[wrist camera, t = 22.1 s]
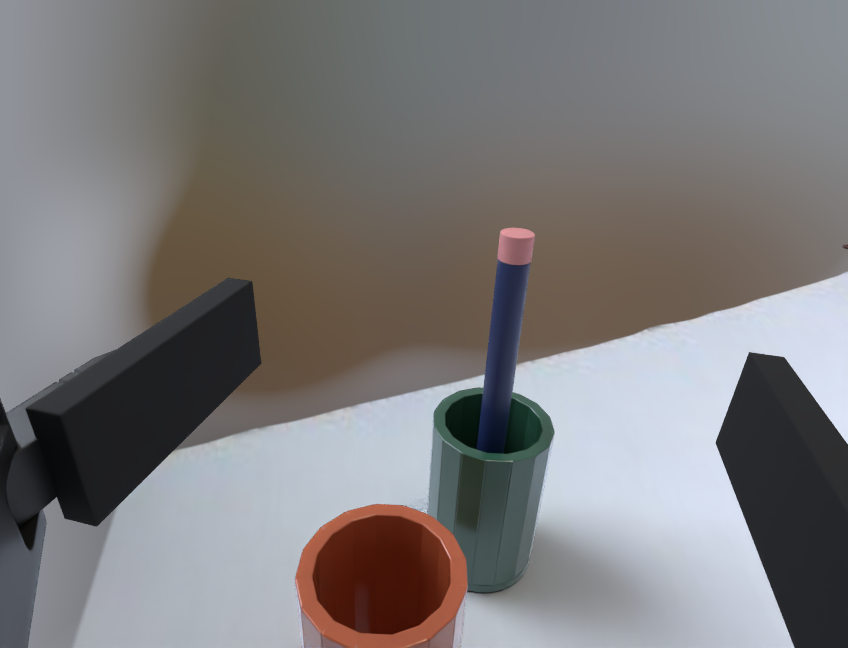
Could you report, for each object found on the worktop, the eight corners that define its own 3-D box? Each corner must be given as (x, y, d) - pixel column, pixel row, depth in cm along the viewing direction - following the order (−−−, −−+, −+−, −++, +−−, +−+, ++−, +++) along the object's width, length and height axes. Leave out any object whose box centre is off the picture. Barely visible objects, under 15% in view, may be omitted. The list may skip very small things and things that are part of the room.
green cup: (408, 567, 29) (414, 438, 25) (448, 495, 34) (458, 377, 30) (514, 610, 27) (538, 477, 23) (540, 527, 32) (564, 405, 28)
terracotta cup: (280, 749, 22) (258, 604, 17) (356, 622, 26) (352, 485, 22) (415, 830, 19) (426, 686, 15) (470, 675, 24) (489, 536, 20)
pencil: (462, 544, 30) (496, 234, 22) (471, 526, 31) (505, 225, 23) (487, 553, 30) (530, 240, 22) (494, 534, 31) (538, 231, 23)
